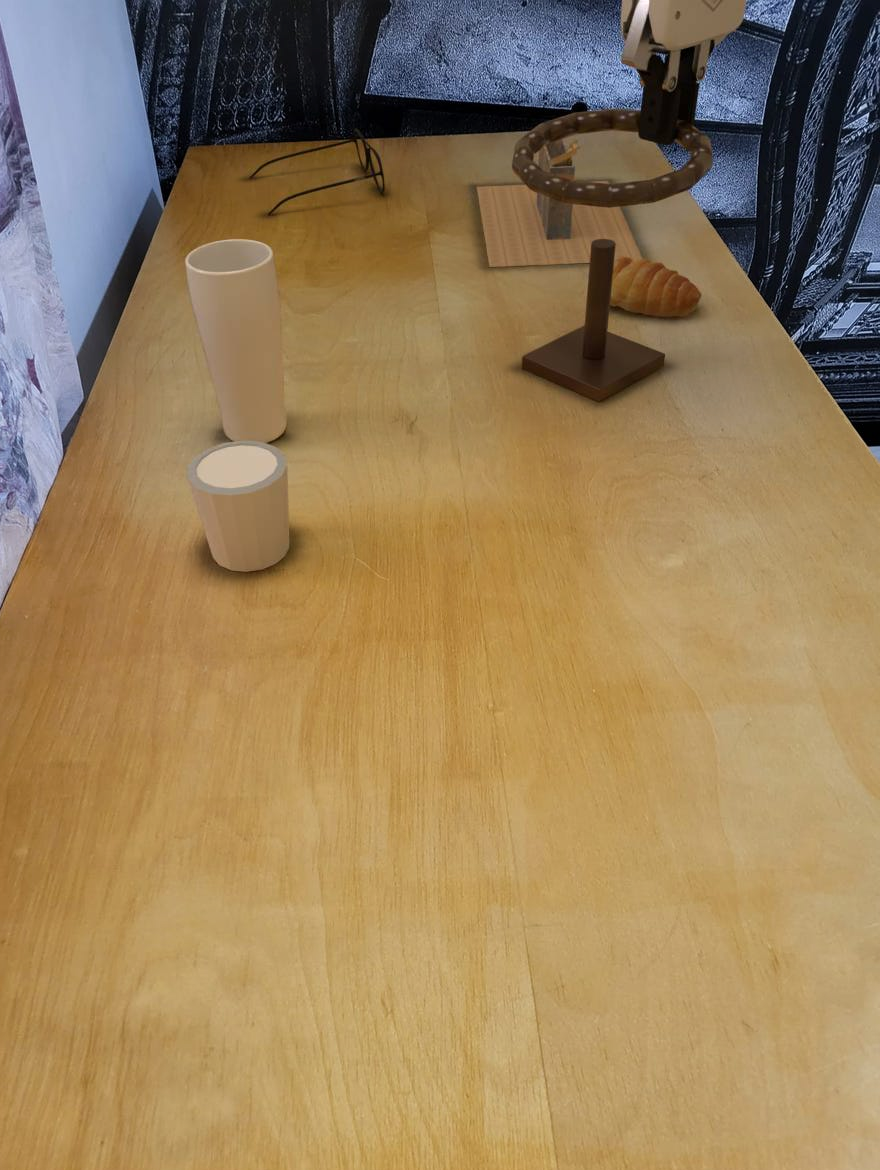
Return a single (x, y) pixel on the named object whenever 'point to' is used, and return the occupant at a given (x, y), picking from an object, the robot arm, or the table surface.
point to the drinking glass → (240, 334)
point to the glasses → (368, 161)
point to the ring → (603, 192)
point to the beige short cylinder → (242, 503)
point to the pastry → (651, 289)
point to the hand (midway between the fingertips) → (665, 136)
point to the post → (595, 342)
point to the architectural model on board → (548, 220)
